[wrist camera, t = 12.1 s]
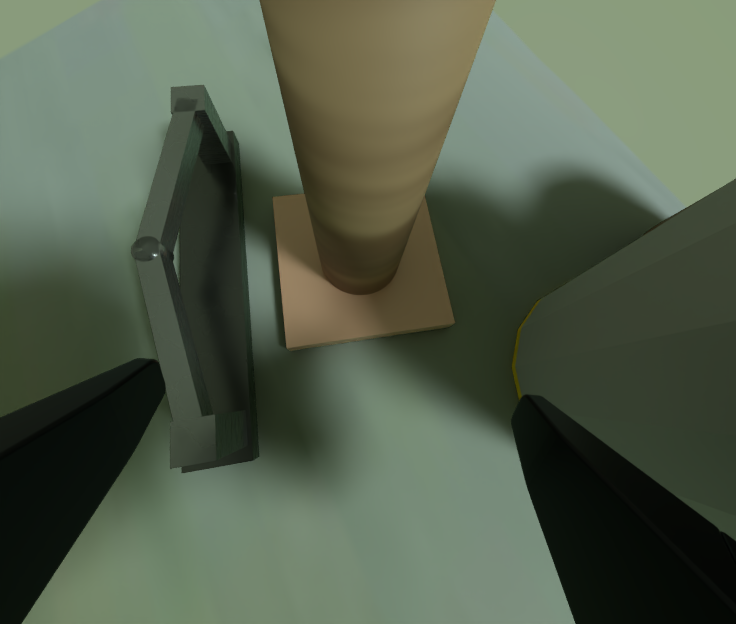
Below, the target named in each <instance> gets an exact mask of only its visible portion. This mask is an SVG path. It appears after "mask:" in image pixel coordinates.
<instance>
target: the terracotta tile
mask: <svg viewBox="0 0 736 624" xmlns="http://www.w3.org/2000/svg"><path fill="white" fill-rule="evenodd" d="M272 198H273V209H274V219H275V230H276V241H277V251H278V262H279V273H280V283H281V294H282V305H283V315H284V326H285V337H286V347H287V349H288V350H290V351H294V350H300V349H307V348H314V347H320V346H327V345H334V344H340V343H347V342H354V341H360V340H367V339H374V338H380V337H387V336H394V335H400V334H407V333H414V332H420V331H427V330H434V329H440V328H447V327H450V326H452V325H453V324H455V320H454V316H453V312H452V308H451V303H450V299H449V295H448V291H447V287H446V282H445V278H444V274H443V270H442V266H441V261H440V257H439V253H438V249H437V245H436V240H435V236H434V232H433V228H432V224H431V219H430V215H429V211H428V207H427V203H426V198H425V195H424V198H423V201H422V204H421V206H420V209H419V212H418V214H417V217H416V220H415V223H414V225H413V228H412V231H411V234H410V236H409V239H408V242H407V244H406V247H405V250H404V253H403V255H402V258H401V261H400V264H399V266H398V269H397V272H396V274H395V276H394V278H393V279H392V280H391V282H390V283H389V284H388V285H387V286H386V287H384V288H383V289H381V290H379V291H377V292H375V293H372V294H368V295H352V294H349V293H346V292H343V291H341V290H339V289H337V288H336V287H335V286H333V285H332V284H331V283H330V282H329V280H328V279H327V278H326V276H325V275H324V272H323V270H322V267H321V263H320V258H319V254H318V250H317V245H316V241H315V237H314V232H313V228H312V224H311V219H310V215H309V211H308V207H307V202H306V198H305V194H296V195H286V196H277V197H272Z"/></svg>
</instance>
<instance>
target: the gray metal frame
mask: <svg viewBox="0 0 736 624" xmlns="http://www.w3.org/2000/svg"><path fill="white" fill-rule="evenodd" d="M171 114H172V118H171V122H170V125H169V129H168V132H167V135H166V139H165V142H164V146H163V149H162V153H161V156H160V160H159V163H158V166H157V170H156V173H155V177H154V180H153V184H152V187H151V191H150V194H149V198H148V201H147V204H146V208H145V211H144V215H143V218H142V222H141V225H140V229H139V232H138V235H137V239H136V241H135V242H134V244H133V245H132V248H131V254H132V256H133V258H134V259H135V260H136V265H137V269H138V273H139V277H140V282H141V286H142V290H143V294H144V299H145V303H146V307H147V311H148V316H149V320H150V324H151V329H152V333H153V337H154V341H155V346H156V350H157V354H158V358H159V363H160V367H161V370H162V374H163V377H164V381H165V384H166V393H167V397H168V401H169V405H170V410H171V414H172V418H173V421H172V422H170V469H172V468H177V467H182V473H186V472H192V471H197V470H203V469H209V468H214V467H220V466H225V465H231V464H236V463H242V462H247V461H253V460H255V459H256V458H258V457H259V444H258V428H257V413H256V398H255V382H254V367H253V352H252V337H251V321H250V306H249V291H248V276H247V260H246V245H245V230H244V214H243V199H242V184H241V169H240V153H239V143H238V141H237V138H236V136H235V134H234V132H233V131H226V130H225V128H224V126H223V124H222V122H221V120H220V117H219V115H218V113H217V111H216V109H215V107H214V105H213V103H212V101H211V98H210V96H209V94H208V92H207V90H206V88H205V86H204V85H195V86H181V87H171ZM179 227H180V287H179V283H178V279H177V275H176V272H175V268H174V264H173V260H174V255H173V251H174V247H175V243H176V239H177V235H178V231H179Z"/></svg>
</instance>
